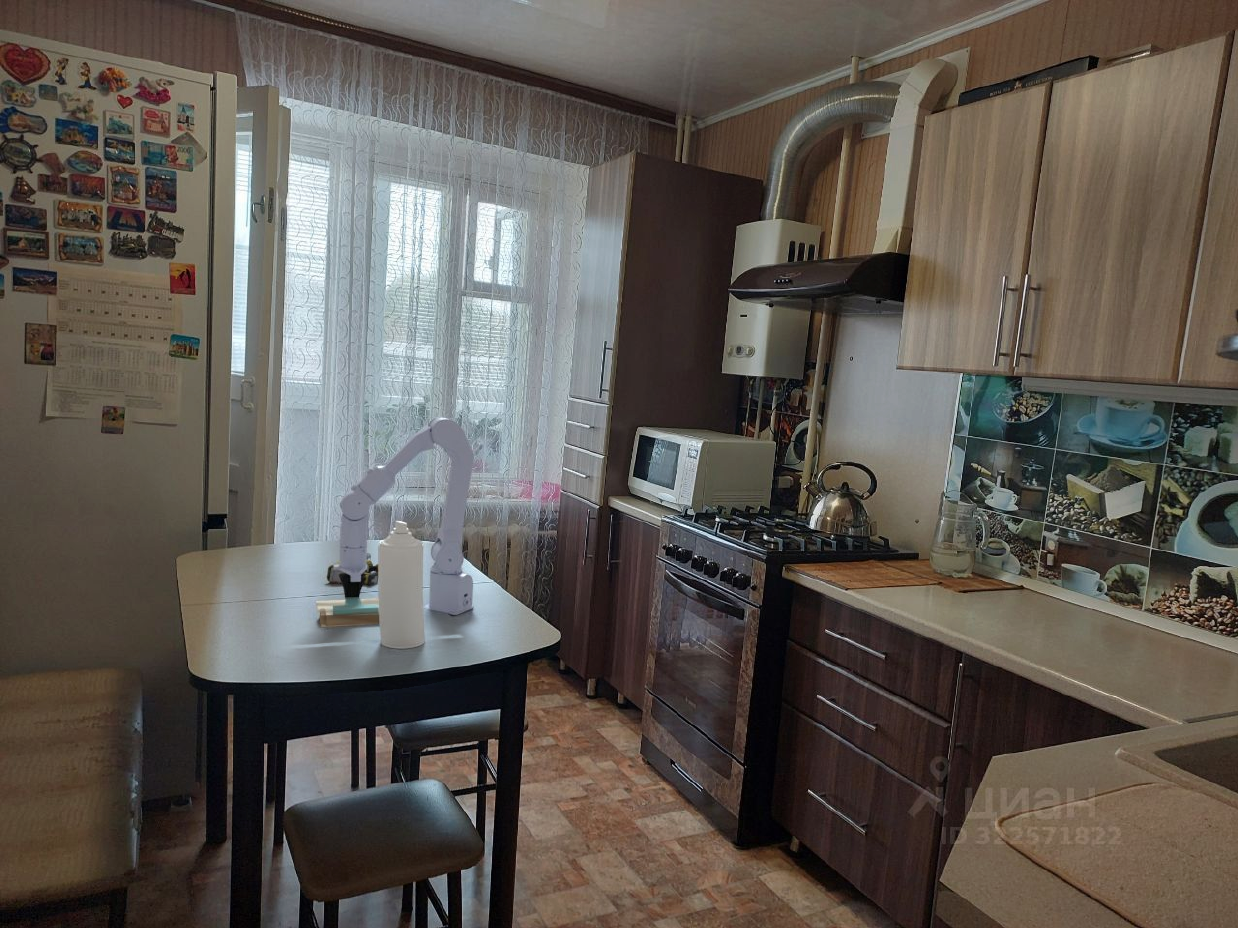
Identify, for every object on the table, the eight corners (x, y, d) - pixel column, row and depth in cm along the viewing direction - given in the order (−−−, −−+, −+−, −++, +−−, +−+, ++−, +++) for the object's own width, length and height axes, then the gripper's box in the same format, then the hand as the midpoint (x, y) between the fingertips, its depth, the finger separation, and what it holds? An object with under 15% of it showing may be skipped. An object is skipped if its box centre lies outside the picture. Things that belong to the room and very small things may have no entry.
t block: (378, 621, 174) (378, 607, 174) (333, 623, 170) (334, 609, 170) (373, 609, 182) (373, 596, 182) (330, 611, 178) (330, 598, 178)
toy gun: (412, 558, 226) (359, 550, 226) (385, 574, 202) (326, 564, 202) (409, 575, 226) (356, 566, 226) (383, 592, 202) (323, 583, 202)
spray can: (436, 649, 160) (441, 524, 158) (382, 656, 154) (387, 526, 152) (416, 632, 170) (421, 514, 167) (365, 638, 164) (369, 515, 161)
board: (315, 603, 186) (316, 592, 186) (379, 600, 192) (379, 589, 191) (321, 629, 168) (321, 617, 168) (391, 625, 173) (391, 613, 173)
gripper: (331, 539, 185) (330, 598, 186) (336, 553, 172) (335, 616, 173) (364, 539, 188) (362, 596, 189) (371, 552, 175) (369, 614, 176)
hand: (351, 605), depth 181 cm, fingers closed
